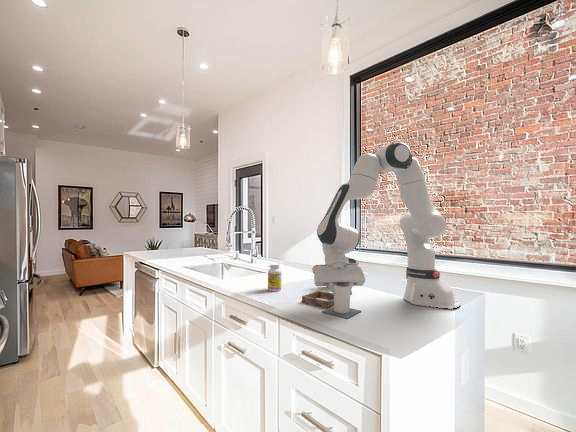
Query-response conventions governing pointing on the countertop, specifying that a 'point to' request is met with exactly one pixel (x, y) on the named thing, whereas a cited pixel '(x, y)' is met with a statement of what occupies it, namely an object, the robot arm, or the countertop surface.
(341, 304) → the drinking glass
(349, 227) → the robot arm
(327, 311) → the charcoal mat
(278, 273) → the supplement bottle
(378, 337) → the countertop surface
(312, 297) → the walnut tray
